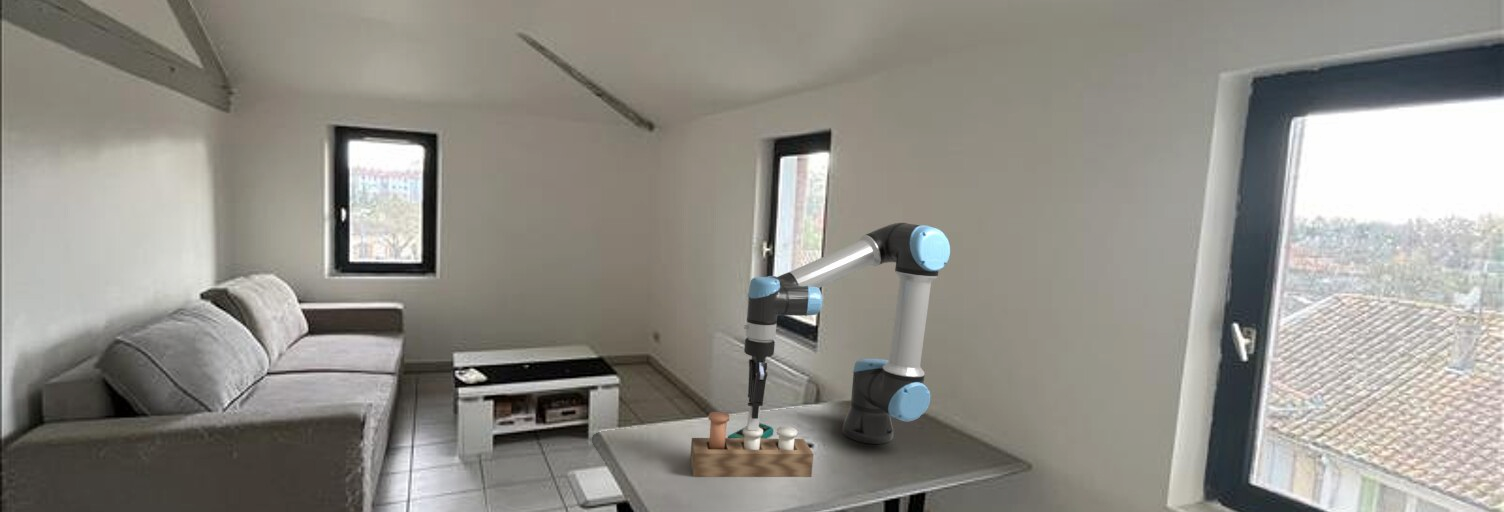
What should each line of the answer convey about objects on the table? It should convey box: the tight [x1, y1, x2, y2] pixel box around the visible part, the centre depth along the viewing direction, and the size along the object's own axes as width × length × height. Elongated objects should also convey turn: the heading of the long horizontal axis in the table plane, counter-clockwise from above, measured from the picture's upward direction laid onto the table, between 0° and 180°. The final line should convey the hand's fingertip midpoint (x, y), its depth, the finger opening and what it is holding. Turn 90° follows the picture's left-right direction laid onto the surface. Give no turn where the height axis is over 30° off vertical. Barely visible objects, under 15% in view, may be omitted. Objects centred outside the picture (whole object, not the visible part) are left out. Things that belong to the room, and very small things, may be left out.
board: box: [689, 437, 814, 478], centre depth 174 cm, size 30×10×6 cm, turn 100°
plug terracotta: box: [708, 411, 730, 450], centre depth 172 cm, size 5×5×9 cm
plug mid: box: [742, 426, 763, 450], centre depth 174 cm, size 5×5×9 cm
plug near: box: [776, 426, 798, 450], centre depth 175 cm, size 5×5×9 cm
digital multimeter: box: [727, 422, 774, 439], centre depth 194 cm, size 7×15×3 cm, turn 150°
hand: (752, 428), depth 173 cm, fingers closed
